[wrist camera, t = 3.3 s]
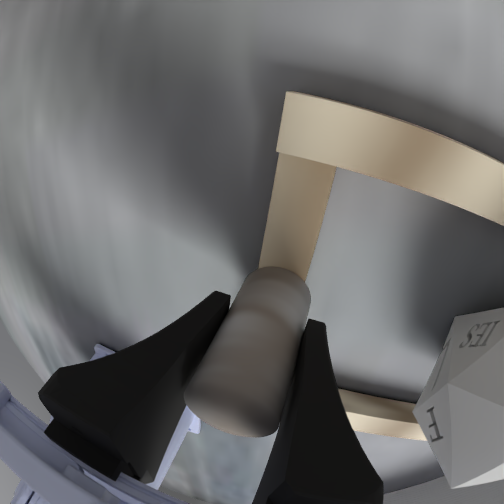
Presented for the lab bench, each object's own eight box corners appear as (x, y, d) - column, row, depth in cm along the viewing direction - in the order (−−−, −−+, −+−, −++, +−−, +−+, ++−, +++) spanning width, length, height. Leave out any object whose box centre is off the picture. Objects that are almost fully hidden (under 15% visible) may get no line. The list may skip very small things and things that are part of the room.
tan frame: (231, 377, 19) (189, 468, 13) (280, 88, 10) (190, 93, 4) (487, 427, 15) (493, 504, 10) (623, 246, 7) (681, 322, 1)
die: (498, 224, 10) (398, 427, 7) (620, 308, 5) (564, 521, 2) (449, 316, 16) (363, 448, 13) (543, 376, 11) (474, 515, 8)
